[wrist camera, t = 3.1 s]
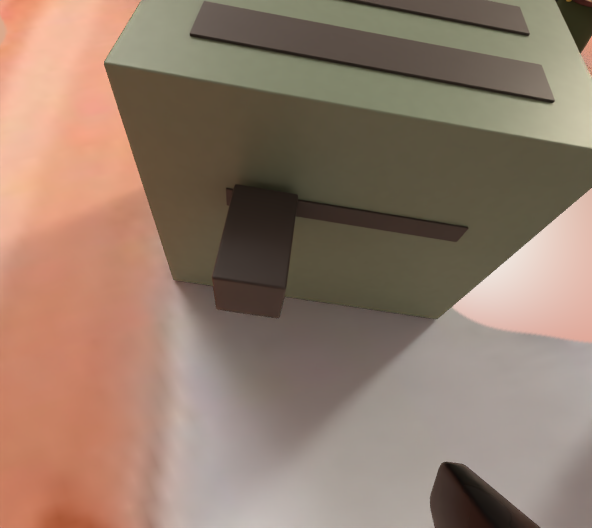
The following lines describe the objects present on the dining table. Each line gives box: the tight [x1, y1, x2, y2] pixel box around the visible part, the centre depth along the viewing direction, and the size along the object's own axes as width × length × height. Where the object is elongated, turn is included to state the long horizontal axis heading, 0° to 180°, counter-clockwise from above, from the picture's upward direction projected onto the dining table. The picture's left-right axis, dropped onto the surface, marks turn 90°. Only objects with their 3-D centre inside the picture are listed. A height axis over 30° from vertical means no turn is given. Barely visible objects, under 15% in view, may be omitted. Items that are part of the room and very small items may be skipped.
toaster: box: [104, 0, 592, 319], centre depth 20 cm, size 10×16×14 cm, turn 84°
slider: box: [212, 184, 298, 318], centre depth 14 cm, size 4×2×3 cm, turn 174°
